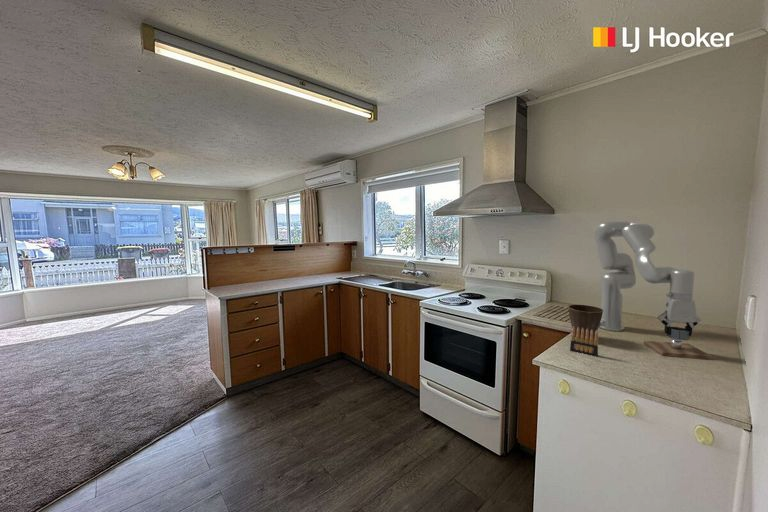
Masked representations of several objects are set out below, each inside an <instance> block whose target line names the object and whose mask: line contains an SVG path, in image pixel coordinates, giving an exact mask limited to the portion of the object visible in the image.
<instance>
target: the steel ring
mask: <svg viewBox="0 0 768 512" xmlns="http://www.w3.org/2000/svg"><path fill="white" fill-rule="evenodd" d="M670 327H672V329H671V335H667V334H666V337H668V338H670V339H671V338H673V339H678V340H682V341H688V340H690V336H689V334H690V330H688V329H685V327H680V326H675V325H674V326H673V325H670Z"/></svg>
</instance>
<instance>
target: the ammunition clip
mask: <svg viewBox="0 0 768 512" xmlns="http://www.w3.org/2000/svg"><path fill="white" fill-rule="evenodd" d="M571 328H572V327H571ZM598 332H599V330H596V332H595V336H594V338H593V330H591V332H590V338H589V331H588V328H587V329H586V334H585V341H584V328H582V330H581V336H580V331H579V327H578V328H577V332H576V337H575V327H574V326H573V328H572V329H571V336H570V345H569V346H570V347H569V352H573V353H577V352H578V353H577V354H582V353H583V354H582V355H586V354H587V356H591V355H592V356H591V357H595V356H596V358H598V356H599V333H598Z"/></svg>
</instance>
